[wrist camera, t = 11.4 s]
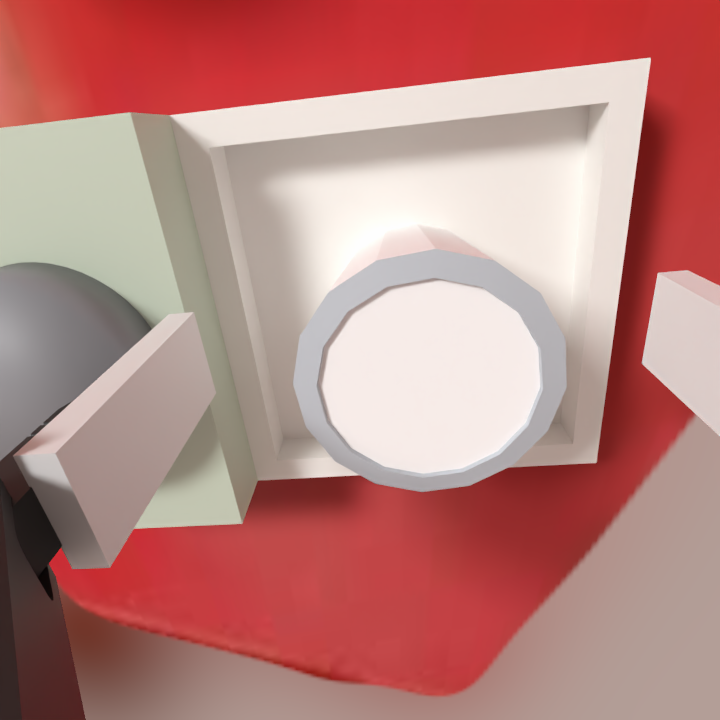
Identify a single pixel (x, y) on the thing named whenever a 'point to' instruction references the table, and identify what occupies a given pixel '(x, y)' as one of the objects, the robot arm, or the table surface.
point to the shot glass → (429, 363)
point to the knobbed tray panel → (303, 248)
